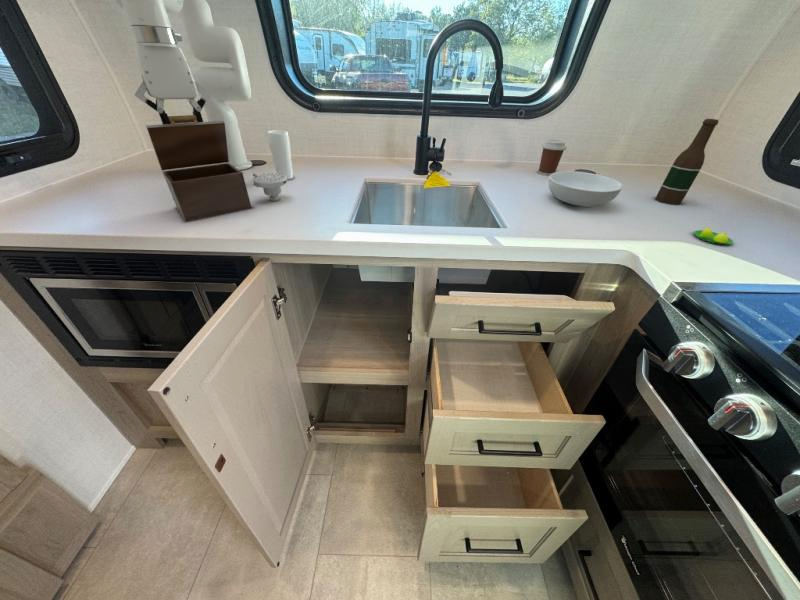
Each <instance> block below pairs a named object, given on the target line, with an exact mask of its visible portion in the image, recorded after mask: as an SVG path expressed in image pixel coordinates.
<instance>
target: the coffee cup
mask: <svg viewBox="0 0 800 600" xmlns="http://www.w3.org/2000/svg"><path fill="white" fill-rule="evenodd" d="M541 148H542V152H541V156H540V161H539V162H540V163H539V167H538V171H537V173H539V174H540V175H545V176H550V175H551V174H552V173H555V172H557V168H558V166H559V164H560V162H561V159H562V156H563V154H564V151H566V150H567V146H566V141H564V140H562V139H553V138H551V139H546V140H545V142H544V143H542V144H541Z"/></svg>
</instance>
